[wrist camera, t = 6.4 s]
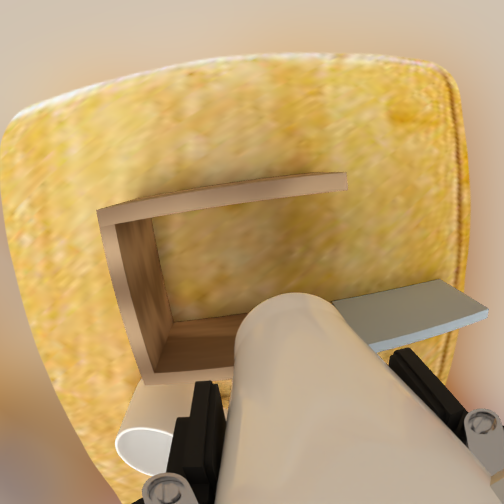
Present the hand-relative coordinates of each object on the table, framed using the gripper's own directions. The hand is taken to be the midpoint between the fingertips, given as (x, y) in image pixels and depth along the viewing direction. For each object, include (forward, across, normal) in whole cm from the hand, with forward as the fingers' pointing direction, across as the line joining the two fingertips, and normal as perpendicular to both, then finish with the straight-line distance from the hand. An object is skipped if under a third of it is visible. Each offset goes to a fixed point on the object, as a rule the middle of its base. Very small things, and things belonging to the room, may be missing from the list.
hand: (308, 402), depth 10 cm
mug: (+22, +11, +16) cm, 29 cm away
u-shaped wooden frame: (+21, +3, 0) cm, 22 cm away
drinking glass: (+5, 0, 0) cm, 5 cm away
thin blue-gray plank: (+21, -14, +6) cm, 26 cm away
